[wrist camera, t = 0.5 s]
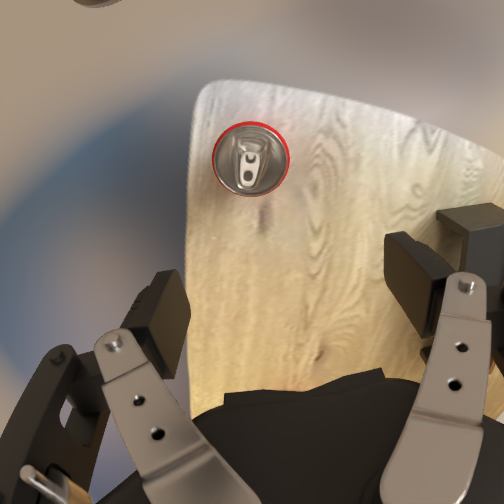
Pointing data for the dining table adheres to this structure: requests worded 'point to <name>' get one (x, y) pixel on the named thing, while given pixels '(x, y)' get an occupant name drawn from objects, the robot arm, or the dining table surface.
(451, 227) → the shelf
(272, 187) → the beverage can
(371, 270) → the dining table surface
